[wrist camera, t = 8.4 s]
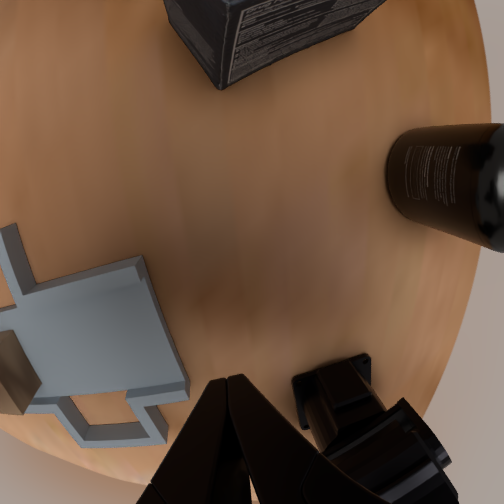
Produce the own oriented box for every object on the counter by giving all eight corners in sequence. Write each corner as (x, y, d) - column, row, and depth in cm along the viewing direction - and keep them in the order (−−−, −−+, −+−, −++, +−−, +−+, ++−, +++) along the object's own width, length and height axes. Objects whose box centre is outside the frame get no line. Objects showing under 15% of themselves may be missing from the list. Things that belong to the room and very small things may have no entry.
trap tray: (121, 183, 17) (111, 185, 15) (208, 420, 22) (208, 437, 20) (-63, 261, 15) (-76, 268, 13) (29, 431, 21) (23, 444, 19)
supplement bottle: (423, 240, 20) (551, 302, 9) (365, 180, 19) (521, 214, 7) (464, 171, 19) (590, 196, 8) (414, 107, 18) (558, 93, 6)
